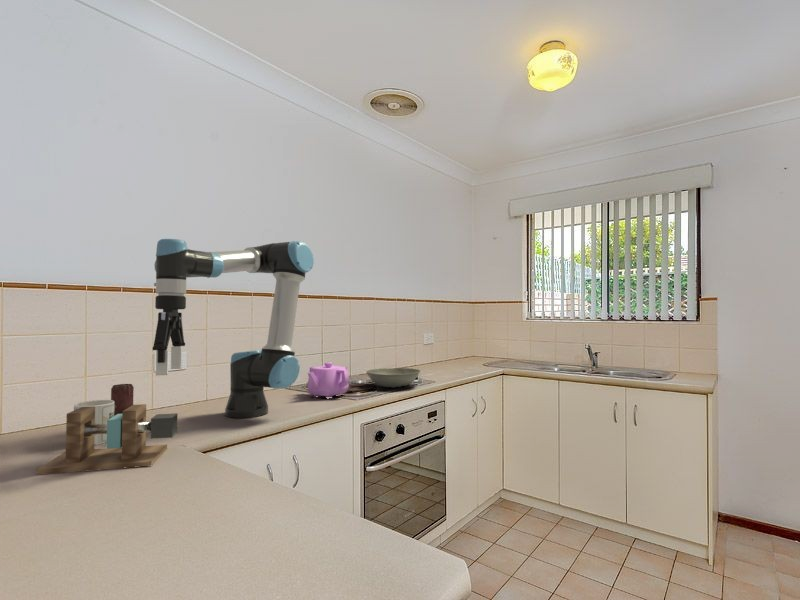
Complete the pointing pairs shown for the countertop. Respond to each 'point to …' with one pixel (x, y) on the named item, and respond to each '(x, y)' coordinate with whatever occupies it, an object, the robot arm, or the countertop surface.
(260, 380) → the robot arm
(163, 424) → the shaft
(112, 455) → the block
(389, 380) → the bowl
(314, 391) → the teapot
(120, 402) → the can
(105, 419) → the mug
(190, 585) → the countertop surface
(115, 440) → the block
